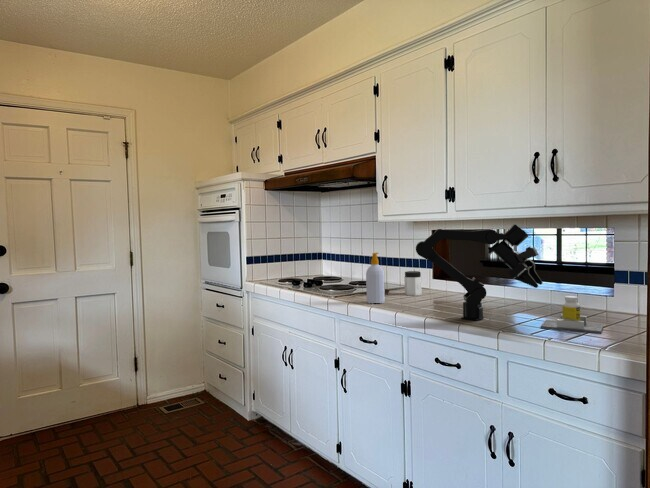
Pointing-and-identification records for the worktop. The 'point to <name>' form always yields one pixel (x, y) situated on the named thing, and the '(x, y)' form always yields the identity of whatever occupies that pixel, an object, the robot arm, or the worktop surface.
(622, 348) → the worktop surface
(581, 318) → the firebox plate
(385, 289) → the cup and saucer
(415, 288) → the jar
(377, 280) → the soap bottle
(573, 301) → the supplement bottle
